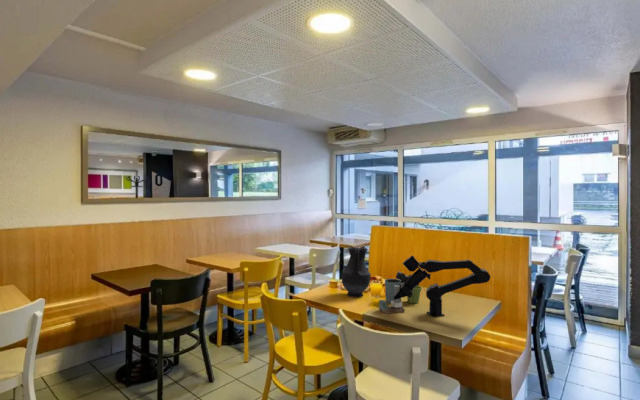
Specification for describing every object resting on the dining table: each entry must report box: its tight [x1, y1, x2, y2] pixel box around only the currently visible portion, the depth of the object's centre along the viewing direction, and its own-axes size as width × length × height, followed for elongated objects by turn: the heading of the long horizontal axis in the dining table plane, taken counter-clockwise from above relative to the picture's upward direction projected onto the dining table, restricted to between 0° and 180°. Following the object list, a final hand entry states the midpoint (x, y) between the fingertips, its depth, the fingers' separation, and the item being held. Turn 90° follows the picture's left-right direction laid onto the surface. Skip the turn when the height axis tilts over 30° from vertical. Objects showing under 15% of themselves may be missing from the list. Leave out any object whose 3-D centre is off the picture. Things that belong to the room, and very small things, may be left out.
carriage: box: [390, 285, 403, 307], centre depth 191 cm, size 4×5×10 cm
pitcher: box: [341, 246, 371, 298], centre depth 219 cm, size 17×21×30 cm
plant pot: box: [406, 285, 423, 304], centre depth 209 cm, size 9×9×9 cm
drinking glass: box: [384, 278, 402, 304], centre depth 209 cm, size 10×10×12 cm
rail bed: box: [378, 299, 405, 314], centre depth 190 cm, size 12×5×6 cm, turn 105°
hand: (394, 298), depth 191 cm, fingers closed on carriage, 3 cm apart
